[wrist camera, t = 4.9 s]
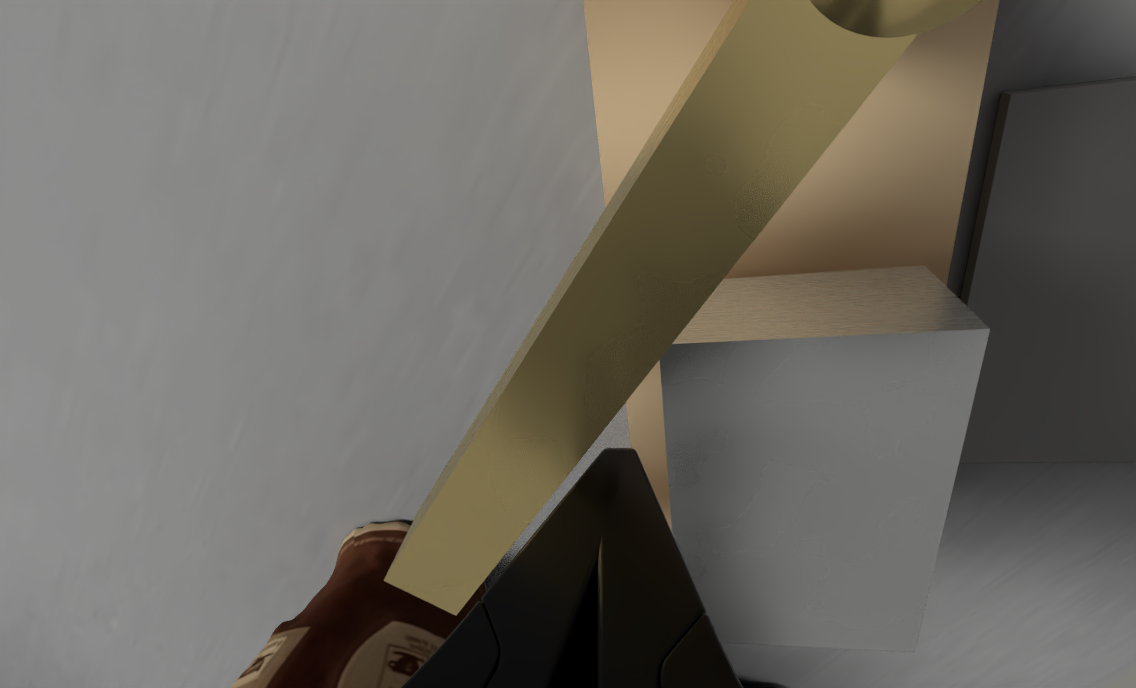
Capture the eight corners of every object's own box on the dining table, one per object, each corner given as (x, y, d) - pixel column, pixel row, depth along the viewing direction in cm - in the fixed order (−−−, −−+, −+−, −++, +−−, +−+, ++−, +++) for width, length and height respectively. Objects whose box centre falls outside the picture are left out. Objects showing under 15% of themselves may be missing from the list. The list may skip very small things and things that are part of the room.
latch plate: (867, 504, 19) (920, 633, 15) (645, 503, 20) (641, 621, 16) (968, -195, 10) (1143, -318, 7) (585, -117, 12) (546, -182, 8)
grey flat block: (877, 555, 14) (914, 652, 12) (677, 551, 15) (679, 640, 13) (925, 265, 11) (990, 328, 9) (659, 283, 12) (658, 344, 9)
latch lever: (775, -144, 9) (920, -352, 4) (875, -71, 10) (1133, -174, 4) (471, 379, 15) (367, 573, 10) (537, 415, 15) (471, 622, 10)
